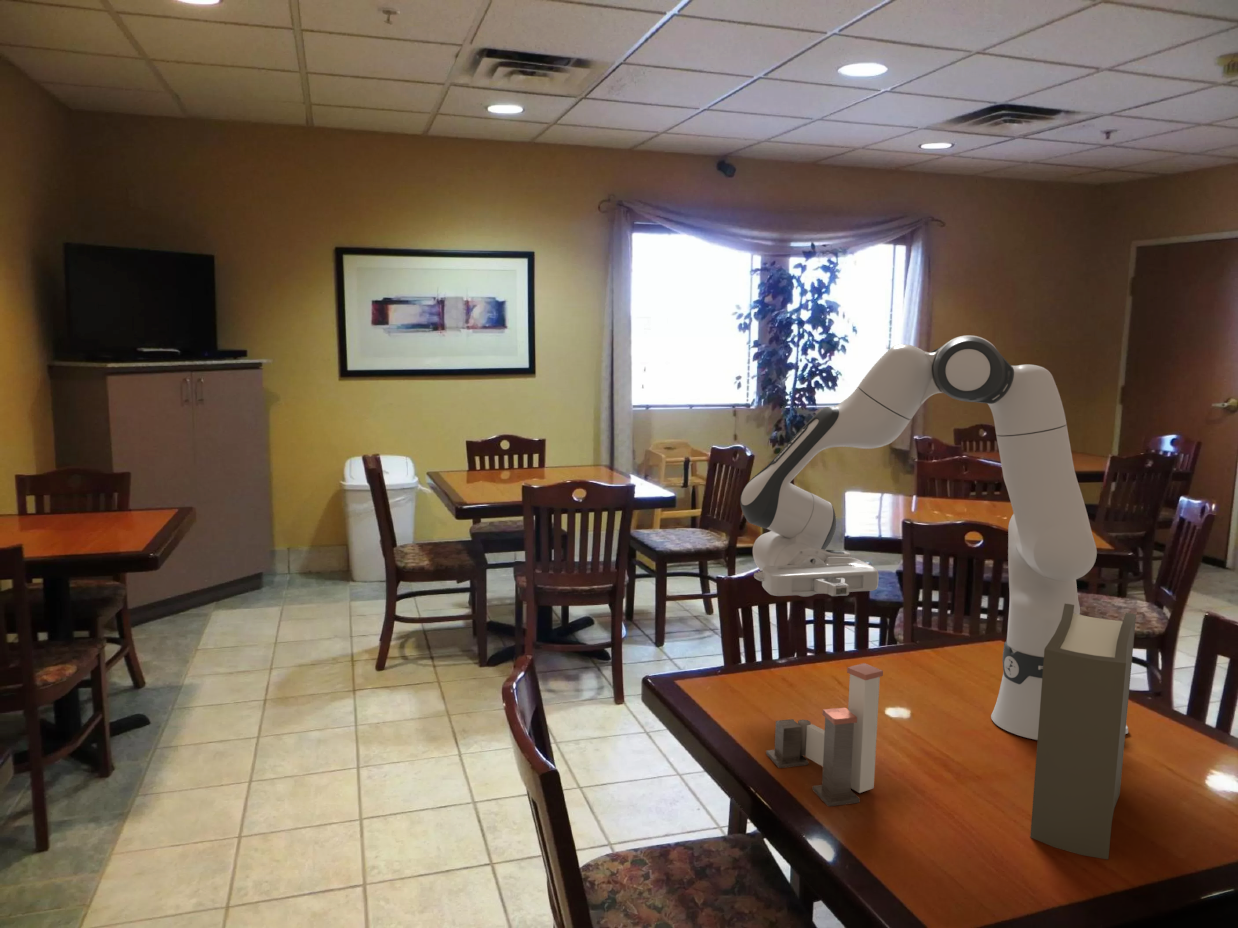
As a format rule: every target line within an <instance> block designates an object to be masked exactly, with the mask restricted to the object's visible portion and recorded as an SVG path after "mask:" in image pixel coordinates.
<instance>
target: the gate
mask: <svg viewBox="0 0 1238 928" xmlns="http://www.w3.org/2000/svg"><path fill="white" fill-rule="evenodd" d="M846 669H847V670H846V673H847V674H849V687H848V704H847V705H848V708H847V710H849V711H850V712H851V713H852V714H854V715H855V716H856V717H857V723H854V731H853V751H852V770H851V789H852V791H855V792H857V793H859V794H861V793H863V792H866V791H869V790H872V789H874V788H875V786H874V785H875V775H876V774H875V772H876V771H875V770H876V753H877V751H876V750H877V735H878V734H877V733H878V718H879V717H878V715H879V699H880V698H879V696H880V679H881V678H880V677H883V676H884V670H883V669H880V668H878V667H875V666H872V665H870V664H868V663H865V662H863V663H859V664H855V665H851V666H848V667H846ZM797 723H798V724H799V725H800V726H801V742H800V755H802V756H804V757H805V758H806V759H809V760H811V761H812V762H814V763H816V764H817V765H819V766H821V767H823V754H824V733H825V729H823V728H821V727H819V726H816V725H815V724H813V723H812V722H811V721H810V720H808V719H799V720H798V721H797Z"/></svg>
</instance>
